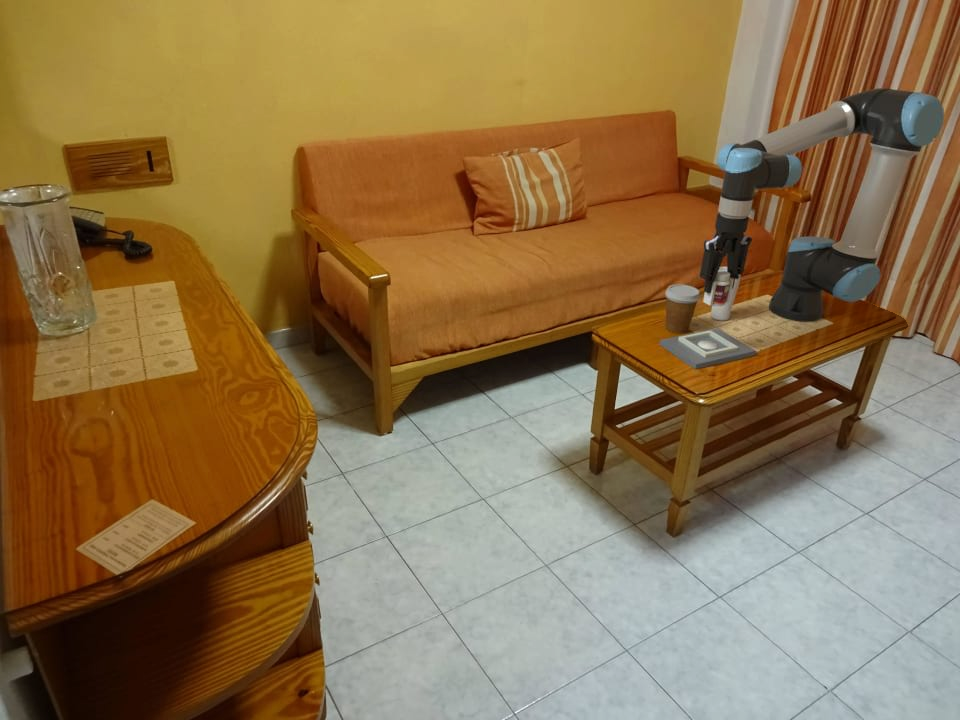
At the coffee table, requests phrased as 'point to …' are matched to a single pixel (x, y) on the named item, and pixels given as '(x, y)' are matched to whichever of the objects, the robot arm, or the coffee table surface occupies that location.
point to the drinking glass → (724, 311)
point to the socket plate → (707, 348)
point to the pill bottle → (721, 288)
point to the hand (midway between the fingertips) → (716, 301)
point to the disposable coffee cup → (680, 307)
